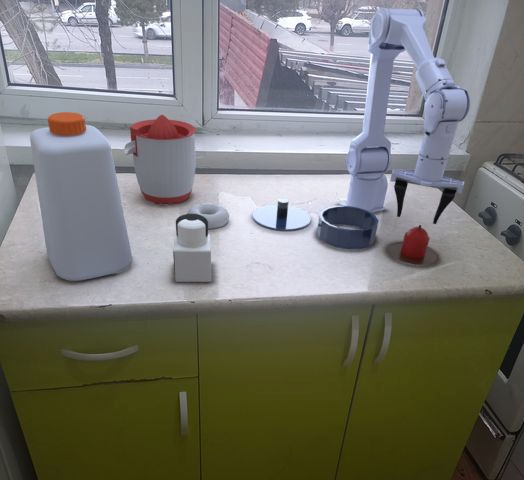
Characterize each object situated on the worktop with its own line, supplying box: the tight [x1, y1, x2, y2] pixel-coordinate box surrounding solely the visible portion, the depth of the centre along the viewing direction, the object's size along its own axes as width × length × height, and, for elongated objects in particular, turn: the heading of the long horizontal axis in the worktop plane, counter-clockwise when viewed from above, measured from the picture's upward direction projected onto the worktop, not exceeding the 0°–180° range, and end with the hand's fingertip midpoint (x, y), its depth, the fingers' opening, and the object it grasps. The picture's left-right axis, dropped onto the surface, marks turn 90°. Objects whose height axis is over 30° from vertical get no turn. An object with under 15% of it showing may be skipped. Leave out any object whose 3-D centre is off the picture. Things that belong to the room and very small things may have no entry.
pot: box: [316, 205, 379, 250], centre depth 119 cm, size 13×13×5 cm
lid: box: [252, 198, 312, 232], centre depth 124 cm, size 14×14×5 cm
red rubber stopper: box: [401, 224, 430, 258], centre depth 113 cm, size 5×5×7 cm
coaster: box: [387, 241, 438, 266], centre depth 116 cm, size 11×11×1 cm
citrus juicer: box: [123, 114, 197, 205], centre depth 126 cm, size 16×17×20 cm
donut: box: [186, 202, 230, 230], centre depth 121 cm, size 10×4×10 cm
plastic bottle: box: [29, 111, 133, 282], centre depth 96 cm, size 15×15×28 cm
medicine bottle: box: [172, 213, 212, 283], centre depth 100 cm, size 7×7×12 cm
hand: (416, 218), depth 111 cm, fingers open, 7 cm apart
